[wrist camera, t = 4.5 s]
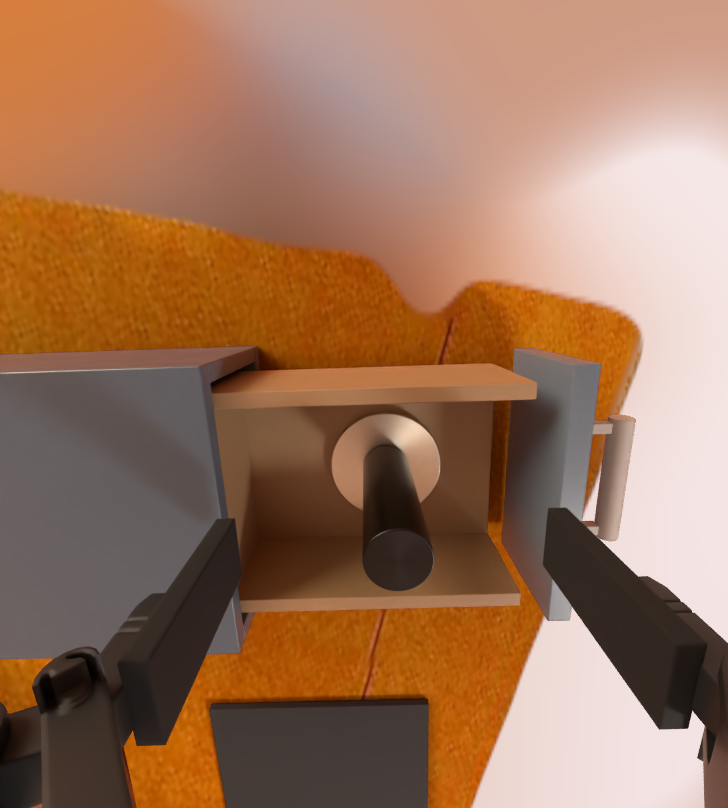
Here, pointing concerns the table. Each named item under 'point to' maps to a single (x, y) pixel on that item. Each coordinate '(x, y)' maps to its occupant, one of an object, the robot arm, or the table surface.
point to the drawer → (445, 506)
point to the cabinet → (106, 489)
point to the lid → (389, 494)
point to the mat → (323, 753)
